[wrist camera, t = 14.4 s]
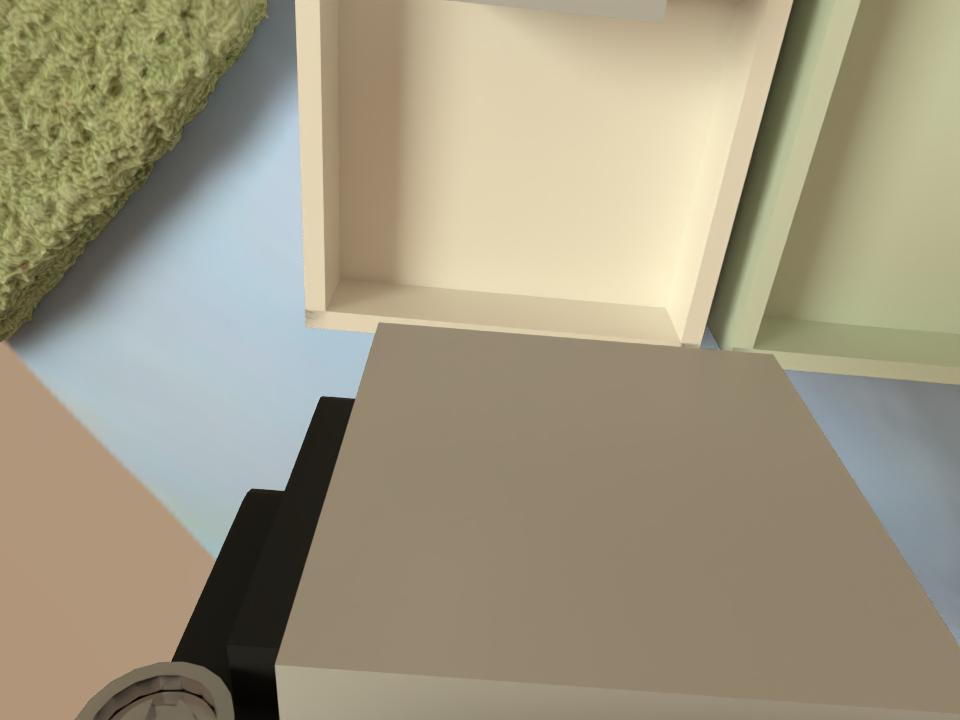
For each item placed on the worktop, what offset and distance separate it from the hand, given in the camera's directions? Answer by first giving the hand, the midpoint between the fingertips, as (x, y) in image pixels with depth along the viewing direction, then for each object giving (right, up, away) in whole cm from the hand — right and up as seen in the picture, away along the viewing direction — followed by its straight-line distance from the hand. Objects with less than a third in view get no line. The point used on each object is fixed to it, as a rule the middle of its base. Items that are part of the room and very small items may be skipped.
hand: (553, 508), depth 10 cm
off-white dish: (0, +11, +11) cm, 16 cm away
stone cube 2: (0, 0, 0) cm, 0 cm away
